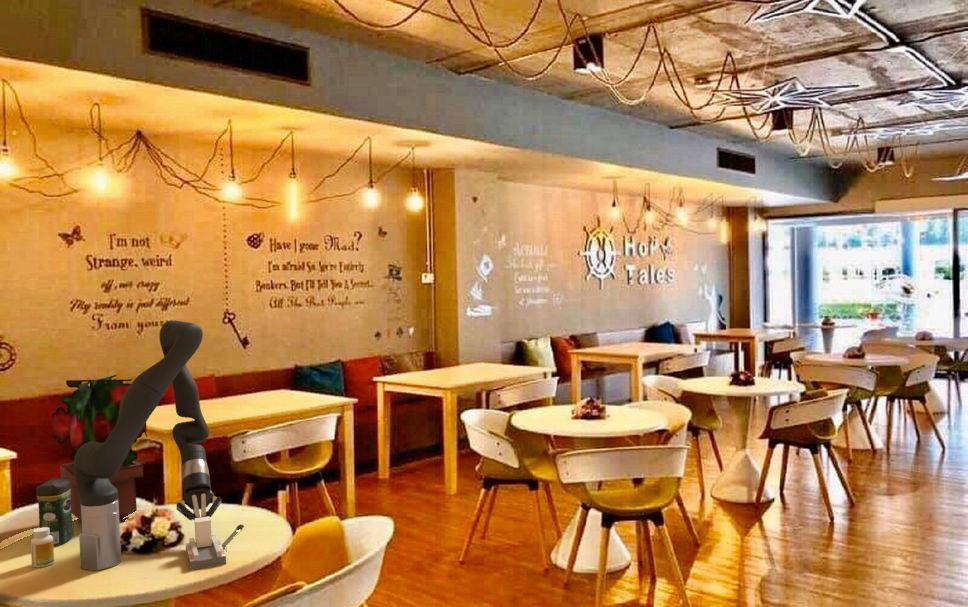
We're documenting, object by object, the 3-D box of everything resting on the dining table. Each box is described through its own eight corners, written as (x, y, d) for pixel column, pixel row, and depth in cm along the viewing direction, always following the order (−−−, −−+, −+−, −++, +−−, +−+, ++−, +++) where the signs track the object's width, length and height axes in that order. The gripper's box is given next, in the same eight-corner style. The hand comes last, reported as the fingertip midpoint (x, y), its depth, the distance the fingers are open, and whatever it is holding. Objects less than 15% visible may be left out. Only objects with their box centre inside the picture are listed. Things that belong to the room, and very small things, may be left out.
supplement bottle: (59, 561, 223) (57, 527, 223) (42, 569, 218) (40, 533, 218) (43, 559, 225) (42, 525, 225) (27, 566, 220) (25, 531, 219)
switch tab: (195, 543, 228) (194, 518, 228) (210, 541, 230) (209, 516, 230) (196, 547, 225) (195, 522, 224) (212, 545, 226) (210, 520, 226)
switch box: (185, 550, 229) (185, 538, 229) (219, 545, 233) (218, 533, 233) (190, 569, 215) (190, 556, 215) (226, 563, 219) (225, 551, 218)
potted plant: (129, 504, 277) (122, 372, 274) (150, 518, 260) (144, 379, 257) (57, 518, 262) (50, 380, 260) (75, 535, 246) (67, 387, 243)
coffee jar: (51, 536, 245) (47, 476, 244) (77, 535, 245) (74, 475, 244) (34, 548, 235) (31, 484, 234) (62, 547, 235) (58, 483, 234)
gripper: (172, 474, 236) (177, 527, 226) (219, 468, 242) (227, 520, 231) (172, 487, 241) (177, 540, 231) (218, 481, 247) (225, 533, 236)
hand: (202, 530), depth 231 cm, fingers closed
